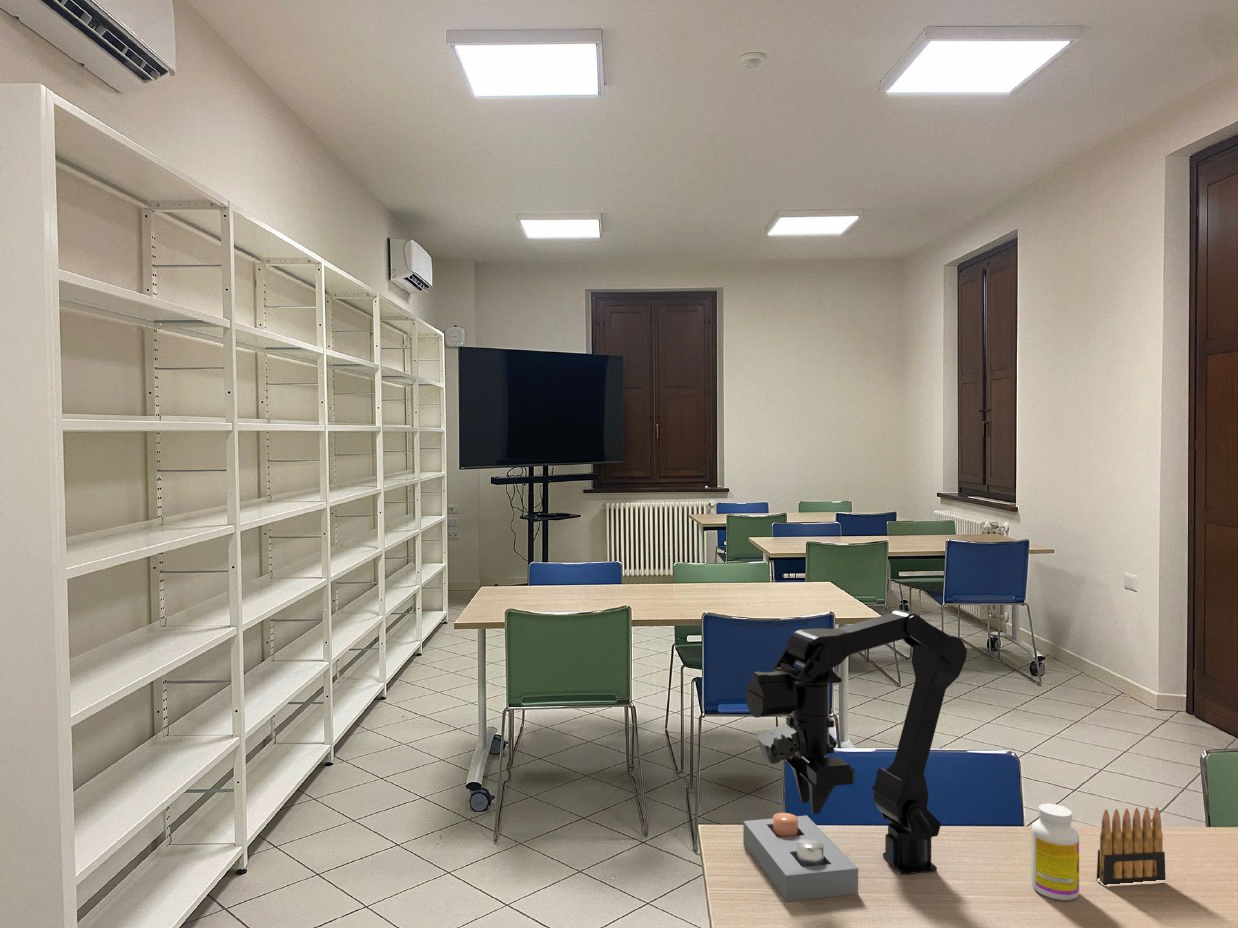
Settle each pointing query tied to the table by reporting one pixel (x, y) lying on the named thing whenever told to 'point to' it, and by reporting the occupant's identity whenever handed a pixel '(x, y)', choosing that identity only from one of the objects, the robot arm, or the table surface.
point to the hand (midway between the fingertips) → (810, 807)
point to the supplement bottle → (1055, 853)
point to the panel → (788, 873)
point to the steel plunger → (810, 853)
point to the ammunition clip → (1131, 848)
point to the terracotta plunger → (785, 825)
